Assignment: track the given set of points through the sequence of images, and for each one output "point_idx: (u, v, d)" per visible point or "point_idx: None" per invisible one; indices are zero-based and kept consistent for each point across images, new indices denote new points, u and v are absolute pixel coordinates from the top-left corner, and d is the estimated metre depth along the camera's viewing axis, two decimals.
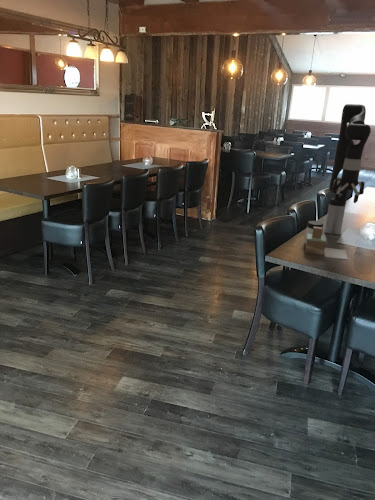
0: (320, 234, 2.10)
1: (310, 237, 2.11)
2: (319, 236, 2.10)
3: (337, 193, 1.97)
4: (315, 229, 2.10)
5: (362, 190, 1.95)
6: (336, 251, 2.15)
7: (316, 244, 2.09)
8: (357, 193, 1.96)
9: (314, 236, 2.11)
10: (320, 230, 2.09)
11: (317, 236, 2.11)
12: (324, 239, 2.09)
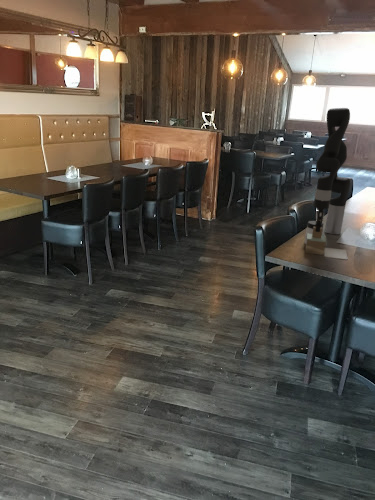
0: (320, 234, 2.10)
1: (310, 237, 2.11)
2: (319, 236, 2.10)
3: (321, 224, 2.05)
4: (315, 229, 2.10)
5: None
6: (336, 251, 2.15)
7: (316, 244, 2.09)
8: None
9: (314, 236, 2.11)
10: (320, 230, 2.09)
11: (317, 236, 2.11)
12: (324, 239, 2.09)
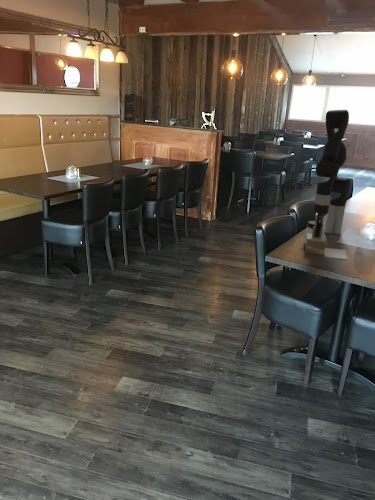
0: (320, 234, 2.10)
1: (310, 237, 2.11)
2: (319, 236, 2.10)
3: (320, 229, 2.08)
4: (315, 229, 2.10)
5: None
6: (336, 251, 2.15)
7: (316, 244, 2.09)
8: (320, 225, 2.12)
9: (314, 236, 2.11)
10: (320, 230, 2.09)
11: None
12: (324, 239, 2.09)
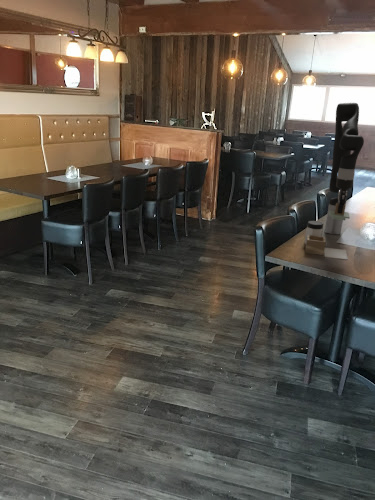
0: (343, 210, 2.03)
1: (332, 214, 2.04)
2: (342, 213, 2.04)
3: (343, 205, 2.02)
4: None
5: None
6: (336, 251, 2.15)
7: (316, 244, 2.09)
8: (343, 202, 2.05)
9: (337, 213, 2.04)
10: (343, 206, 2.03)
11: None
12: (347, 215, 2.02)
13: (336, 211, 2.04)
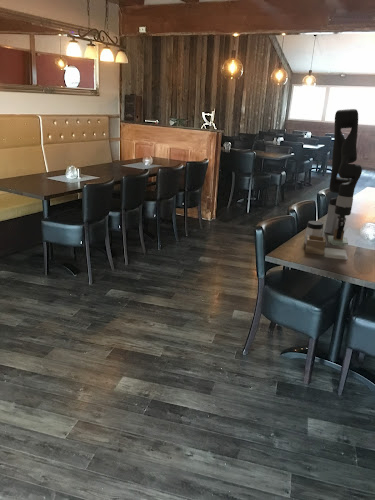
0: (342, 236, 2.07)
1: (331, 239, 2.08)
2: None
3: (342, 231, 2.06)
4: None
5: None
6: (336, 251, 2.15)
7: (316, 244, 2.09)
8: (342, 227, 2.09)
9: (335, 238, 2.08)
10: (342, 232, 2.07)
11: None
12: (346, 241, 2.06)
13: (335, 237, 2.08)
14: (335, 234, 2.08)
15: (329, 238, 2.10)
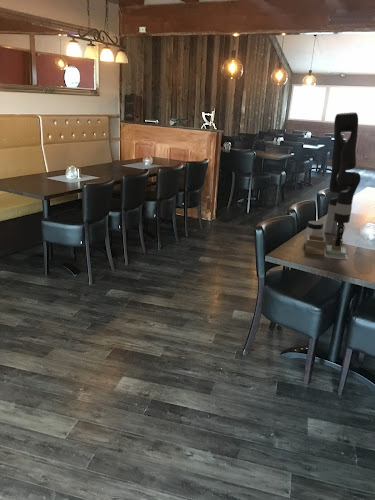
0: (340, 246, 2.09)
1: (330, 249, 2.10)
2: (339, 248, 2.10)
3: (341, 238, 2.06)
4: (335, 241, 2.09)
5: None
6: None
7: (316, 244, 2.09)
8: None
9: (334, 248, 2.10)
10: (340, 242, 2.08)
11: (337, 248, 2.10)
12: (344, 251, 2.08)
13: (333, 246, 2.10)
14: (333, 244, 2.10)
15: (327, 248, 2.12)
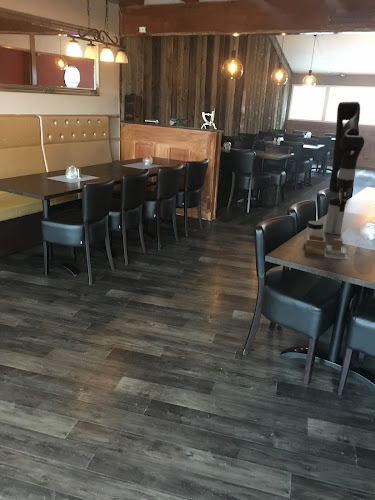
0: (340, 246, 2.09)
1: (330, 249, 2.10)
2: (339, 248, 2.10)
3: (345, 203, 2.02)
4: (335, 241, 2.09)
5: None
6: None
7: (316, 244, 2.09)
8: None
9: (334, 248, 2.10)
10: (340, 242, 2.08)
11: (337, 248, 2.10)
12: (344, 251, 2.08)
13: (333, 246, 2.10)
14: (333, 244, 2.10)
15: (327, 248, 2.12)
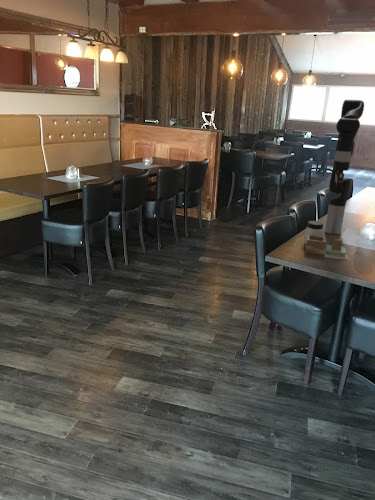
0: (340, 246, 2.09)
1: (330, 249, 2.10)
2: (339, 248, 2.10)
3: (341, 185, 2.06)
4: (335, 241, 2.09)
5: None
6: None
7: (316, 244, 2.09)
8: (340, 181, 2.14)
9: (334, 248, 2.10)
10: (340, 242, 2.08)
11: (337, 248, 2.10)
12: (344, 251, 2.08)
13: (333, 246, 2.10)
14: (333, 244, 2.10)
15: (327, 248, 2.12)
